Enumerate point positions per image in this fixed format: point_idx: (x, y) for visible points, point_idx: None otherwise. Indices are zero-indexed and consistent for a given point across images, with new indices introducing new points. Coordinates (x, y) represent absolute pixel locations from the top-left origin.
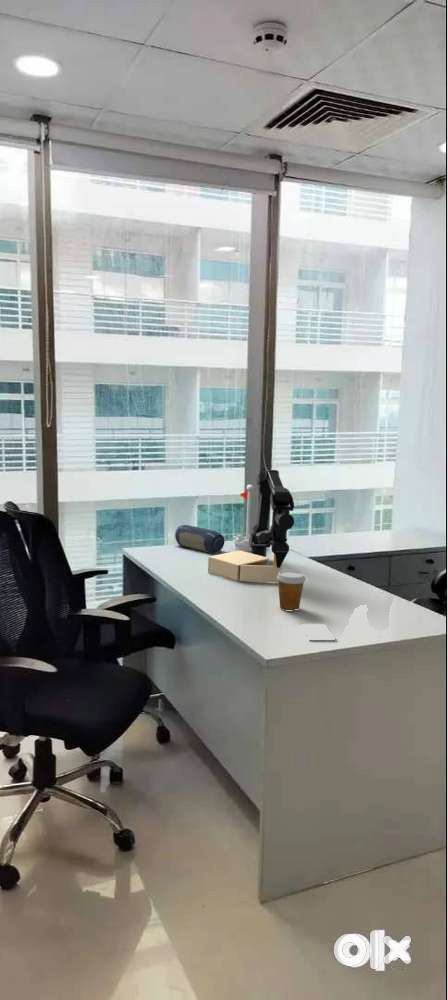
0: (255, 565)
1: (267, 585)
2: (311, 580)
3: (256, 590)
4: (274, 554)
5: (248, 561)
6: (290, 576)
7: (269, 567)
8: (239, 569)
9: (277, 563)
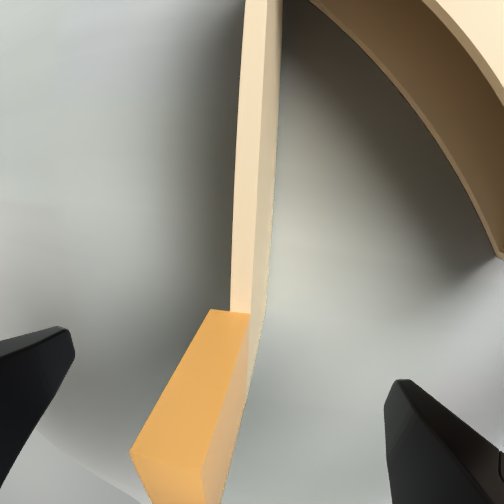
0: (260, 28)
1: (186, 191)
2: (322, 463)
3: (74, 108)
4: (441, 448)
5: (473, 2)
6: None
7: (234, 250)
8: None
9: (12, 350)
